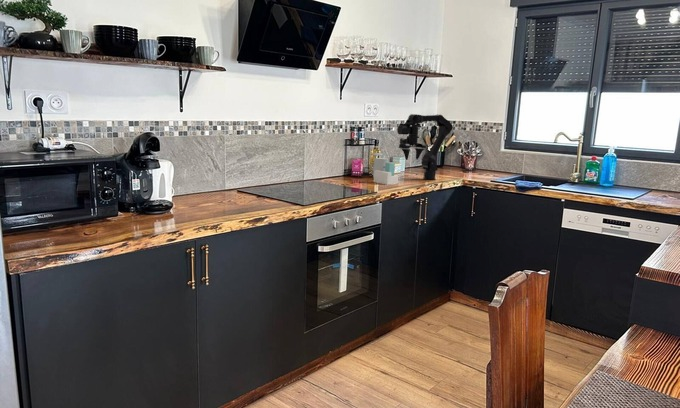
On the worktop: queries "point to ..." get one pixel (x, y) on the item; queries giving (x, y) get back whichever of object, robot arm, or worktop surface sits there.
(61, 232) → the worktop surface
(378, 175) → the socket
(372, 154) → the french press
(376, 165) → the supplement box
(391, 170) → the teal rectangular block
